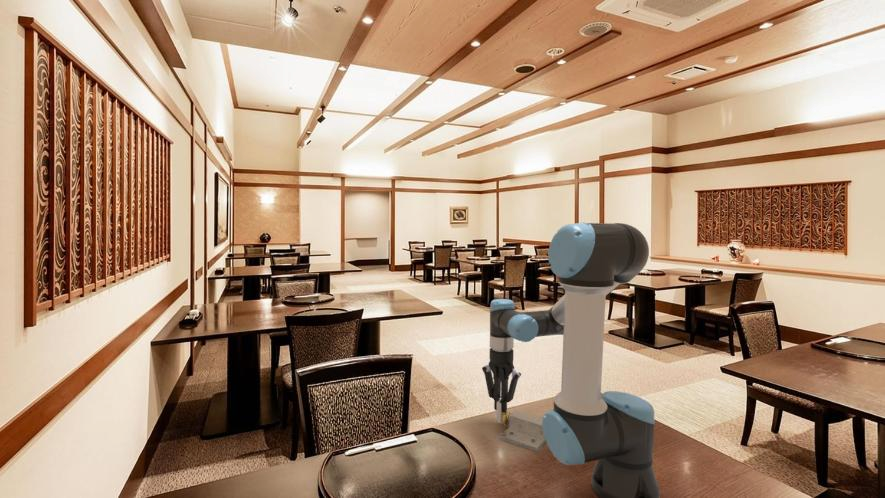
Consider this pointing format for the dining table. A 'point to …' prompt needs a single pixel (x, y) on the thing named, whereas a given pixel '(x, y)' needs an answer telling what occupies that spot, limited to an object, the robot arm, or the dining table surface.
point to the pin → (506, 418)
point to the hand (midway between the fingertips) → (500, 420)
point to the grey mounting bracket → (524, 431)
